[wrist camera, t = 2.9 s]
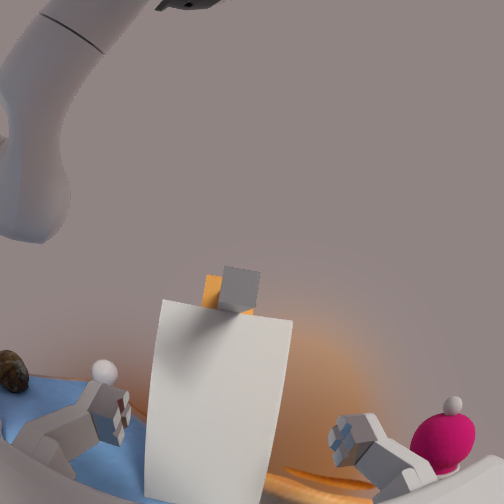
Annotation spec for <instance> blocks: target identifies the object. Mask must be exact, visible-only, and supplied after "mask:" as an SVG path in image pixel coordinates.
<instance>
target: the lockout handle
mask: <svg viewBox="0 0 504 504" xmlns="http://www.w3.org/2000/svg"><path fill="white" fill-rule="evenodd" d="M259 278H260V272H257V271H251V270H245V269H239V268H234V267H228V266H225V267H224V272H223V277H218V276H213V275H208V274H207V278H206V284H205V290H204V295H203V301H202V307H205V308H211V309H216V310H222V311H228V312H234V313H240V314H247V315H253V311H254V308H255V306H256V299H257V292H258V285H259Z"/></svg>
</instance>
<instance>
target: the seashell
mask: <svg viewBox="0 0 504 504" xmlns="http://www.w3.org/2000/svg"><path fill="white" fill-rule="evenodd" d="M28 381H29V375H28V371H27V368H26V366H25V365H24V363H23V361H22V359H21V358H20V357H19V356H18V355H17V354H16V353H14V352H12V351H9V350H3V351H0V383H1V385H2V386H3V387H4V388H6V389H7V390H9V391H11V392H15V393H16V392H22V391H24V390H25V389H26V388H28Z"/></svg>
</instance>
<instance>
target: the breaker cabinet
mask: <svg viewBox="0 0 504 504" xmlns="http://www.w3.org/2000/svg"><path fill="white" fill-rule="evenodd" d="M292 325H293V321H289V320H282V319H274V318H267V317H260V316H253V315H247V314H240V313H234V312H228V311H222V310H216V309H211V308H205V307H199V306H194V305H189V304H183V303H178V302H173V301H169V300H164V299H163V302H162V308H161V313H160V319H159V325H158V332H157V338H156V345H155V352H154V359H153V367H152V375H151V384H150V393H149V403H148V414H147V427H146V443H145V467H144V497H147V498H151V499H156V500H160V501H164V502H169V503H174V504H259V502H260V498H261V494H262V490H263V486H264V482H265V477H266V473H267V468H268V464H269V459H270V453H271V450H272V445H273V440H274V434H275V430H276V424H277V419H278V414H279V408H280V403H281V397H282V391H283V384H284V378H285V372H286V367H287V359H288V354H289V347H290V340H291V332H292Z"/></svg>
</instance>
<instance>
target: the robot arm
mask: <svg viewBox="0 0 504 504" xmlns="http://www.w3.org/2000/svg"><path fill="white" fill-rule="evenodd" d="M149 1H150V0H50V1H49V2H48V3H47V4H46V5H45V6H44V7H43V9H42V10H41V11H40V12H39V14H37V15H36V16H35V18H34V19H33V20H32V21H31V23H30V24H29V25H28V27H27V28H26V29H25V31H24V32H23V33H22V35H21V36H20V37H19V39H18V40H17V42H16V43H15V44H14V46H13V48H12V49H11V50H10V52H9V53H8V55H7V56H6V58H5V60H4V61H3V63H2V64H1V66H0V102H1V104H2V106H3V108H4V110H5V112H6V115H7V118H8V124H9V138H5V137H3V136H1V135H0V235H2V236H4V237H7V238H9V239H11V240H16V241H22V242H28V243H36V244H43V243H45V242H47V241H48V240H50V239H51V238H52V237H53V236H54V235H55V234H56V233H57V232H58V231H59V229H60V228H61V227H62V225H63V223H64V221H65V219H66V217H67V214H68V211H69V207H70V200H71V199H70V198H71V191H70V185H69V181H68V177H67V175H66V173H65V171H64V168H63V165H62V161H61V155H60V135H61V129H62V125H63V121H64V118H65V115H66V112H67V111H68V108H69V106H70V104H71V103H72V101H73V99H74V97H75V96H76V94H77V92H78V91H79V89H80V87H81V86H82V84H83V83H84V81H85V80H86V78H87V77H88V76H89V74H90V73H91V72H92V70H93V69H94V68H95V67H96V65H97V64H98V63H99V62H100V60H101V59H102V58H103V57H104V56H103V55H105V54H106V53H107V52H108V51H109V50H110V49H111V47H112V46H113V45H114V44H115V43H116V42H117V40H118V39H119V38H120V37H121V36H122V34H123V33H124V32H125V31H126V30H127V28H128V27H129V26H130V25H131V24H132V22H133V21H134V20H135V19H136V17H137V16H138V15H139V14H140V12H141V11H142V10H143V9H144V8H145V6H146V5H147V4H148V3H149ZM228 1H231V0H163V1H162V2H161V3H160V4H159V5H158V6H157V7H156V9H155V10H156V11H163V10H164V9H166V8H167V7H172V8H177V9H182V10H195V9H207V8H210V7H211V6H213V5H218V4H222V3H225V2H228ZM129 398H130V397H129V392H128V391H125V390H122V389H119V388H116V387H113V386H110V385H107V384H105V383H101V382H99V381H96V380H93V379H92V380H91V381H89V383H88V384H87V386H86V387H85V389H84V391H83V392H82V394H81V395H80V397H79V399H78V400H77V402H76V404H75V405H74V406H73V405H69V406H67V407H64V408H62V409H59V410H57V411H55V412H52V413H50V414H47V415H45V416H42V417H40V418H37V419H34V420H32V421H29V422H26V423H25V424H24V426H23V427H22V429H21V430H20V432H19V433H18V435H17V436H16V438H15V439H14V441H13V443H12V444H9V443H8V442H7V441H5V440H4V437H3V435H2V422H1V419H0V504H140V503H136V502H133V501H129V500H126V499H123V498H120V497H116V496H113V495H111V494H108V493H105V492H102V491H100V490H97V489H94V488H92V487H89V486H87V485H85V484H82V483H80V482H78V481H75V478H76V476H77V475H76V473H75V471H74V469H73V468H72V466H71V465H70V463H69V462H70V461H71V460H73V459H74V458H76V457H77V456H79V455H80V454H82V453H84V452H85V451H87V450H88V449H90V448H91V447H93V446H94V445H96V444H97V443H99V441H102V442H105V443H108V444H111V445H115V446H118V447H120V446H121V443H122V440H123V438H124V435H125V434H124V428H126V427H128V424H129V421H130V417H131V405H130V404H129V403H128V400H129ZM336 422H337V425H336V426H334V427H333V428H332V429H331V431H330V433H329V437H328V441H329V446H330V448H331V449H332V450H333V451H335V452H334V454H333V459H334V462H335V465H336V467H345V466H354V465H355V466H354V467H355V468H356V469H358V470H359V471H360V472H361V473H362V474H363V475H364V476H365V477H366V478H367V479H368V480H370V481H371V482H372V483H373V484H374V485H375V486H376V487H377V488H379V489H380V490H381V491H380V492H379V493H377V494H376V495H375V496H374V497H373V499H372V500H373V503H374V504H504V459H501V458H499V457H497V456H494V455H487V456H485V457H483V458H481V459H480V460H478V461H476V462H475V463H473V464H471V465H469V466H467V467H466V468H464V469H462V470H460V471H458V472H456V473H454V474H452V475H450V476H448V477H446V478H444V479H442V480H438V478H437V476H436V474H435V472H434V471H433V469H432V467H431V465H430V463H429V462H428V461H427V460H425V459H424V458H422V457H420V456H418V455H417V454H415V453H413V452H412V451H410V450H409V449H407V448H405V447H404V446H402V445H400V444H399V443H397V442H396V441H394V440H393V439H391V438H390V439H388V438H387V436H386V434H385V432H384V430H383V428H382V426H381V425H380V423H379V421H378V419H377V417H376V415H375V414H374V413H365V414H352V415H341V416H340V417H338V419H337V420H336Z"/></svg>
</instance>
